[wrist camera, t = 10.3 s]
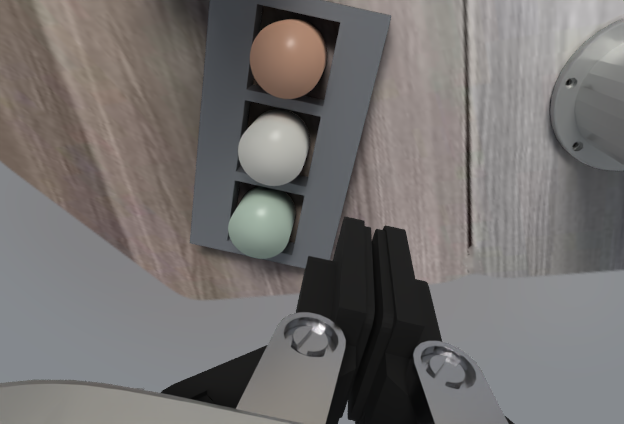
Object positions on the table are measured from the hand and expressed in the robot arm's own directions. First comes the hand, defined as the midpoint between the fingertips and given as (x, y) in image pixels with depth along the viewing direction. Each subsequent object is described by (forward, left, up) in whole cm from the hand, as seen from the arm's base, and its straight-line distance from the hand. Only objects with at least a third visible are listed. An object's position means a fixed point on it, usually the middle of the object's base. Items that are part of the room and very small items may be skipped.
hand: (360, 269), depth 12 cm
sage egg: (+6, +14, -28) cm, 32 cm away
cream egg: (+6, +6, -28) cm, 30 cm away
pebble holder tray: (+6, +6, -29) cm, 30 cm away
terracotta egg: (+6, -1, -28) cm, 29 cm away
